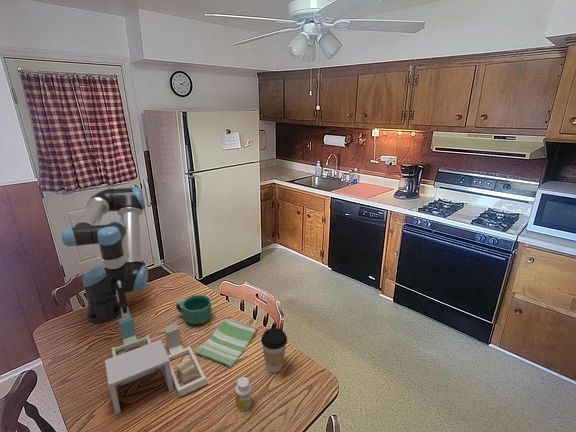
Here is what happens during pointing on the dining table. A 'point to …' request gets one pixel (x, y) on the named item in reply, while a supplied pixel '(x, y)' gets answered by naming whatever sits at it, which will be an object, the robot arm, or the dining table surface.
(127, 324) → the frame
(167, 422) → the dining table surface
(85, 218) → the robot arm
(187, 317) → the mug
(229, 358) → the dish towel
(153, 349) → the shelf
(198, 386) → the open frame with post
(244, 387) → the supplement bottle
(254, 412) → the dining table surface
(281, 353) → the coffee cup
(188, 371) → the birch block
